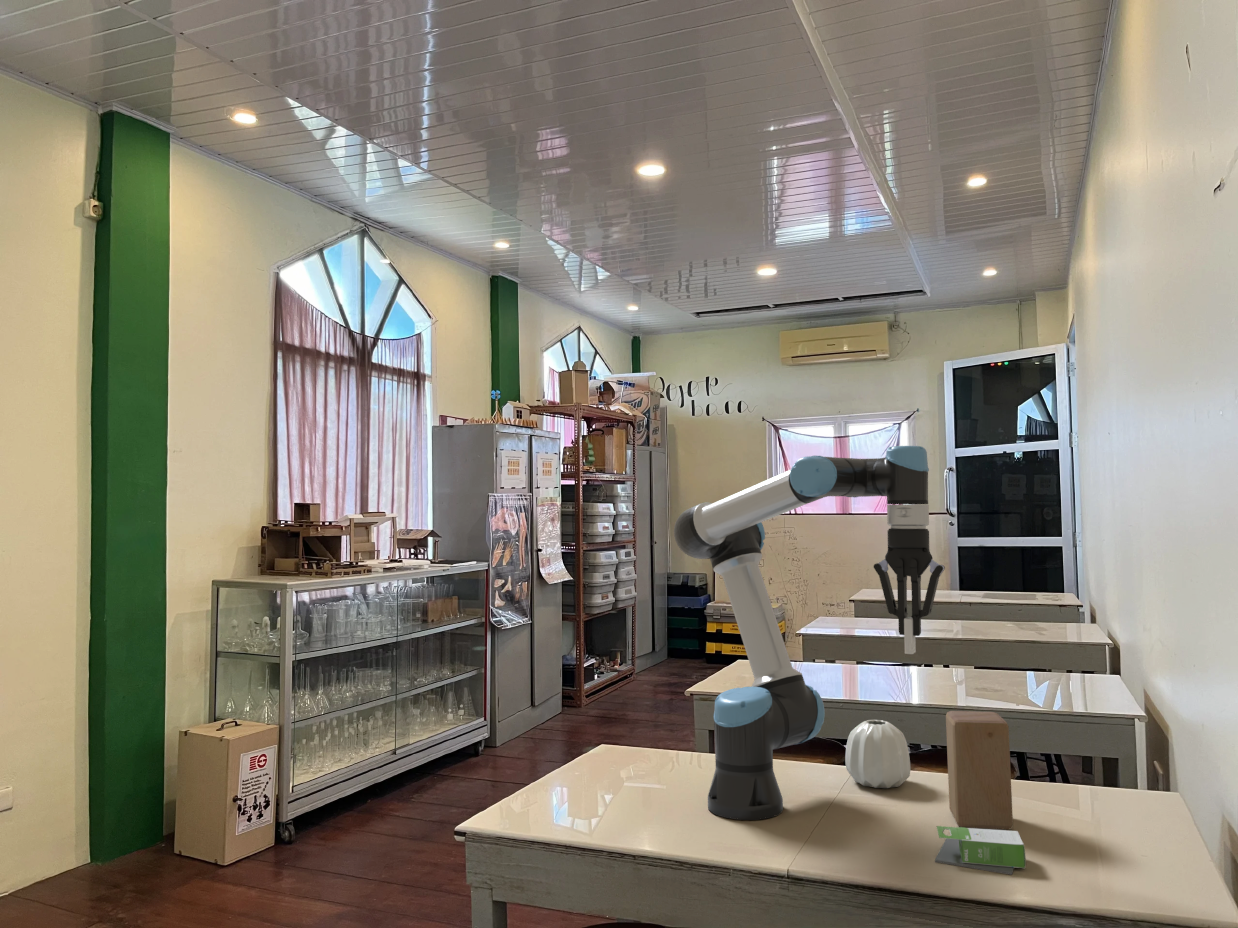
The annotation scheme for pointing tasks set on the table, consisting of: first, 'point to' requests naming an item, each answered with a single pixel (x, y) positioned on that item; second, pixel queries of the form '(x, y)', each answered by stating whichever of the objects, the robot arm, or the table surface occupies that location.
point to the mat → (953, 857)
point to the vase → (877, 755)
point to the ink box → (988, 846)
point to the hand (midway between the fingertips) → (910, 652)
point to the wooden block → (979, 770)
